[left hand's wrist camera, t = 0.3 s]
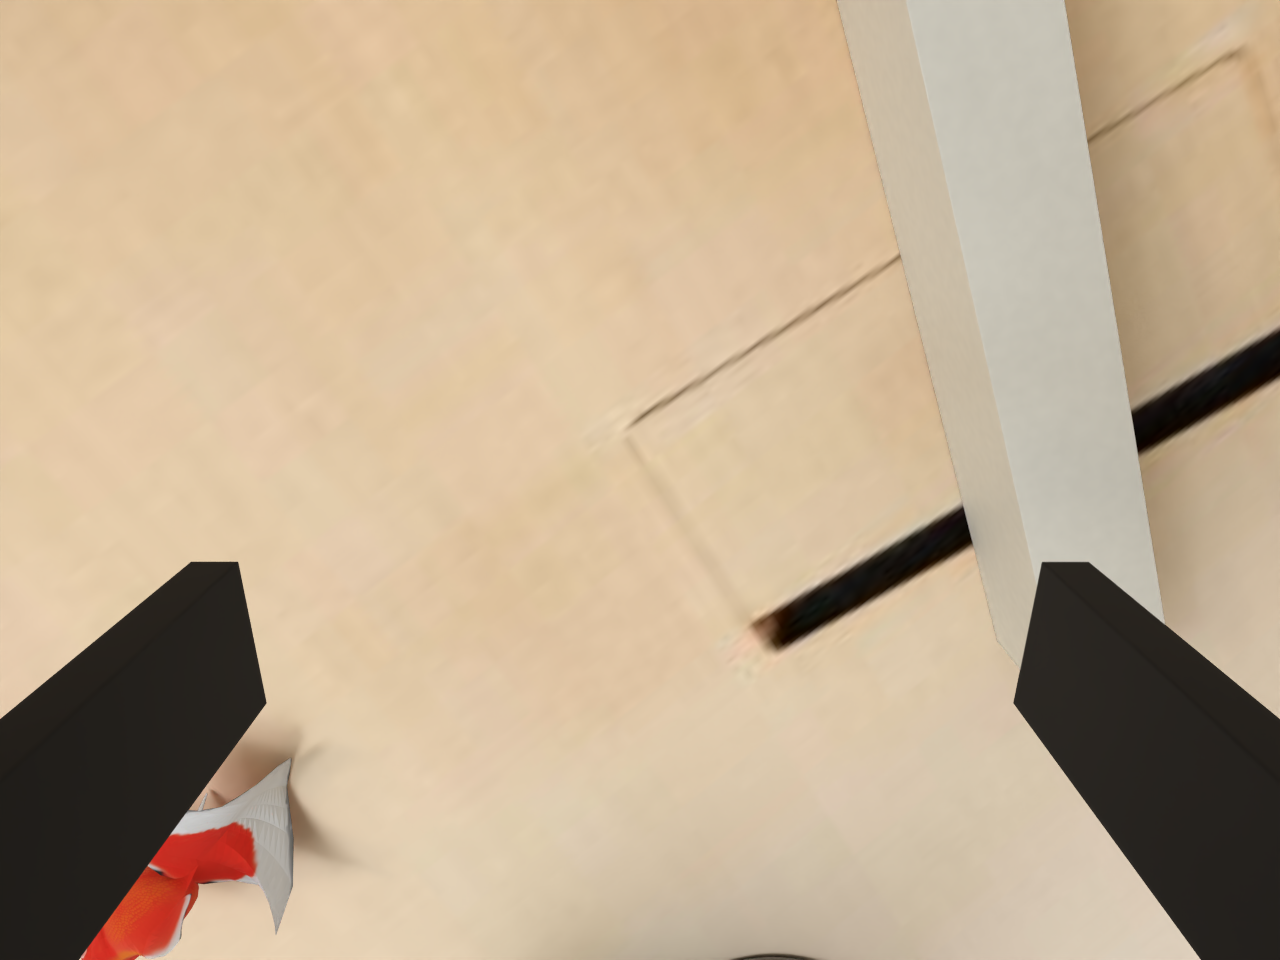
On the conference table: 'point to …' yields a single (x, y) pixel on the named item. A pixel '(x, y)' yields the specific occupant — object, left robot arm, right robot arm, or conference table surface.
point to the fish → (205, 869)
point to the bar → (1008, 286)
